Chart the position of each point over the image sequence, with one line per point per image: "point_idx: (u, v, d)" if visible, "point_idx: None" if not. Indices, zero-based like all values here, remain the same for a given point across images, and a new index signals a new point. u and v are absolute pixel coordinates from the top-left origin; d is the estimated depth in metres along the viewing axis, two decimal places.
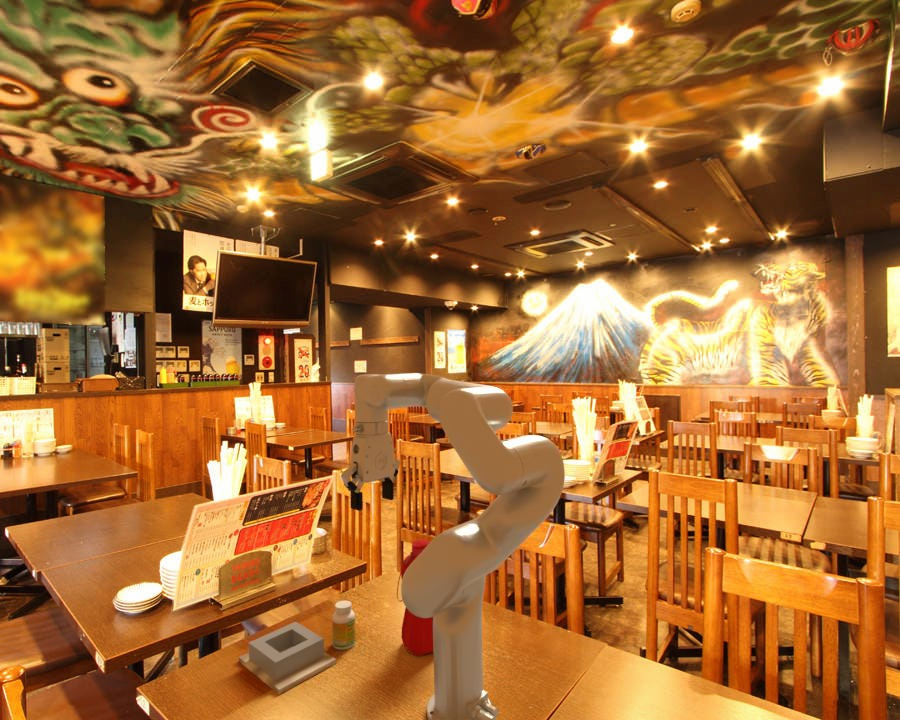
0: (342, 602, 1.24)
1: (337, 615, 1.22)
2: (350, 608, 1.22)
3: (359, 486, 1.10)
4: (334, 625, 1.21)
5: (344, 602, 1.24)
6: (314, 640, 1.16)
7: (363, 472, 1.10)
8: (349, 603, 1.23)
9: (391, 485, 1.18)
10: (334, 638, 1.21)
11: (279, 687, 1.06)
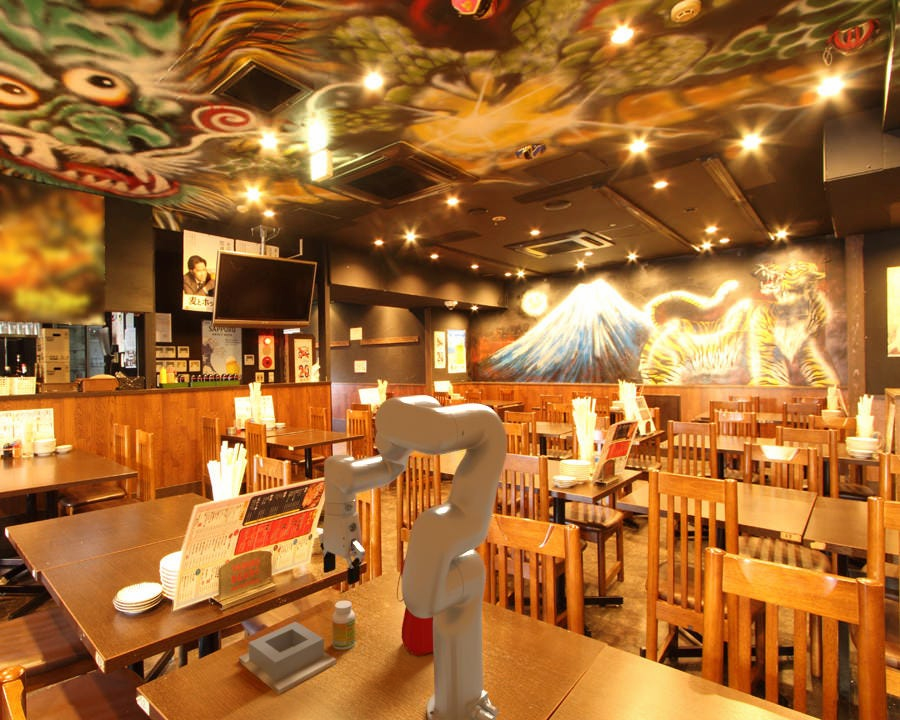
0: (342, 602, 1.24)
1: (337, 615, 1.22)
2: (350, 608, 1.22)
3: None
4: (334, 625, 1.21)
5: (344, 602, 1.24)
6: (314, 640, 1.16)
7: (361, 544, 1.22)
8: (349, 603, 1.23)
9: (335, 556, 1.27)
10: (334, 638, 1.21)
11: (279, 687, 1.06)
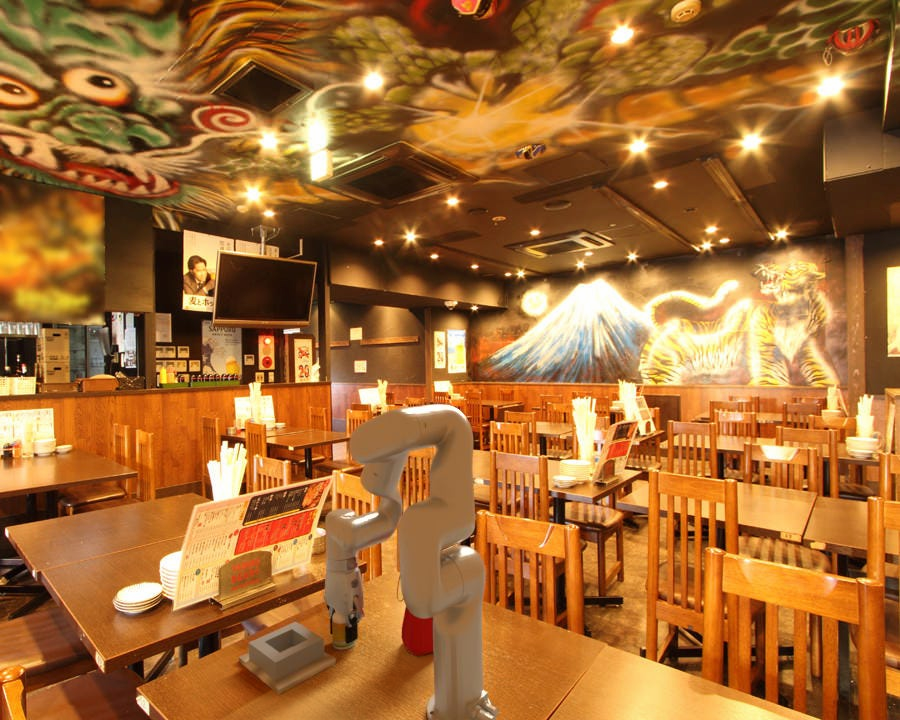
0: None
1: (337, 615, 1.22)
2: None
3: None
4: (334, 625, 1.21)
5: None
6: (314, 640, 1.16)
7: (363, 600, 1.22)
8: None
9: None
10: (334, 638, 1.21)
11: (279, 687, 1.06)
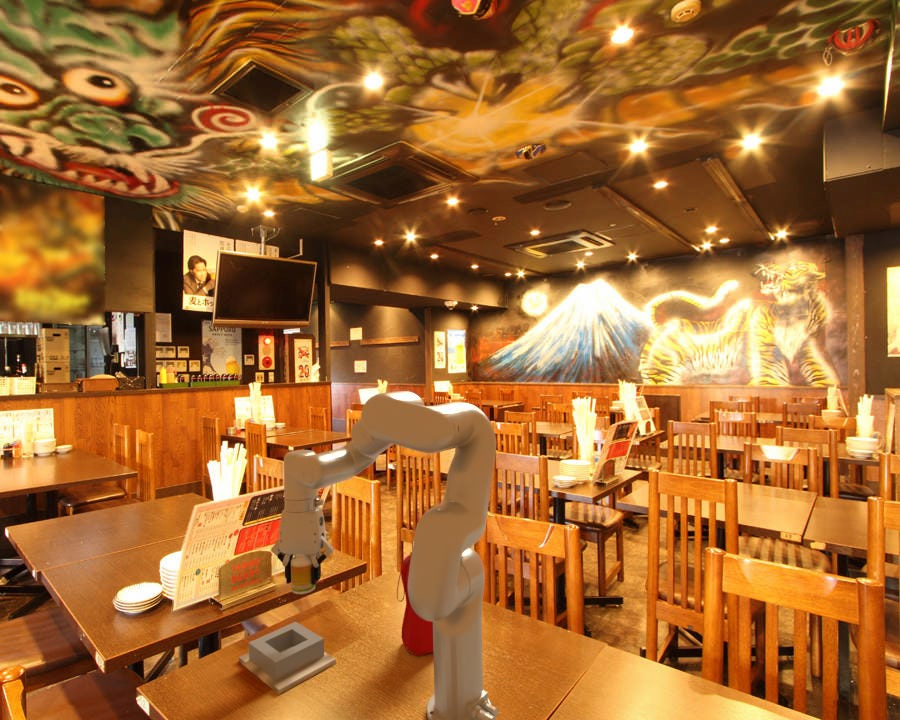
0: None
1: (299, 559, 1.16)
2: None
3: None
4: (298, 570, 1.16)
5: None
6: (314, 640, 1.16)
7: (325, 538, 1.20)
8: None
9: None
10: (297, 583, 1.16)
11: (279, 687, 1.06)
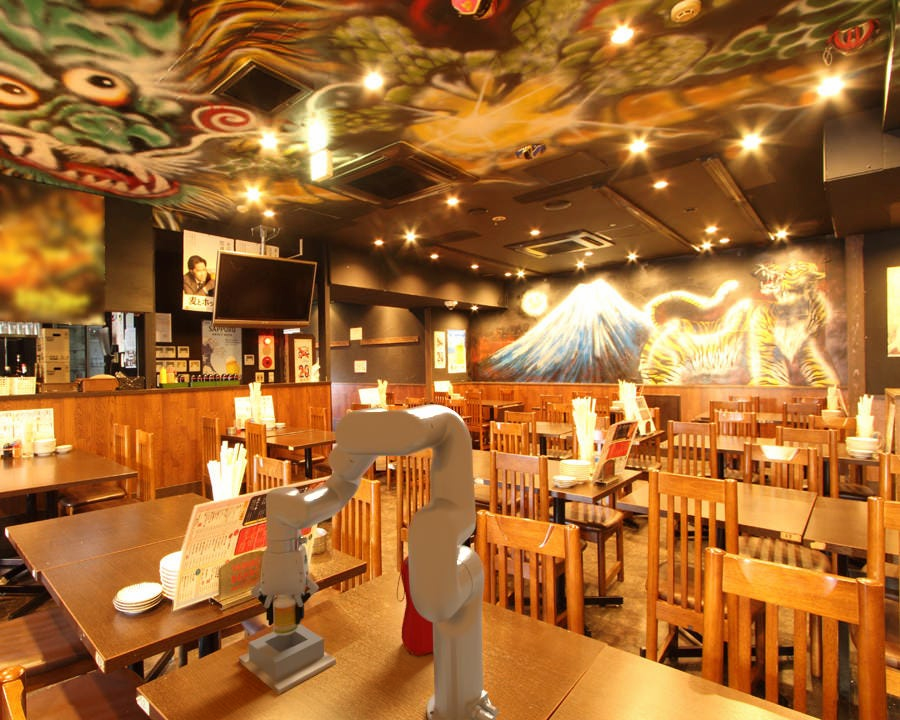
0: None
1: (283, 600, 1.14)
2: None
3: None
4: (282, 611, 1.13)
5: None
6: (314, 640, 1.16)
7: None
8: None
9: None
10: (281, 625, 1.13)
11: (279, 687, 1.06)
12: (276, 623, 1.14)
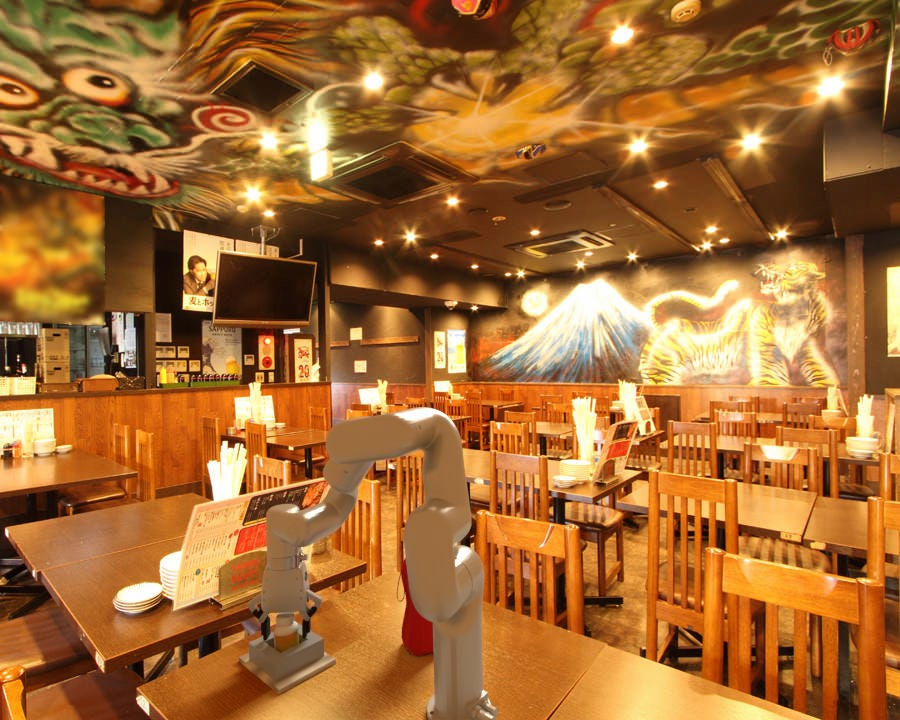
0: (281, 614, 1.16)
1: (284, 628, 1.14)
2: None
3: None
4: (282, 639, 1.13)
5: (282, 613, 1.17)
6: (314, 640, 1.16)
7: None
8: (290, 612, 1.17)
9: None
10: None
11: (279, 687, 1.06)
12: None
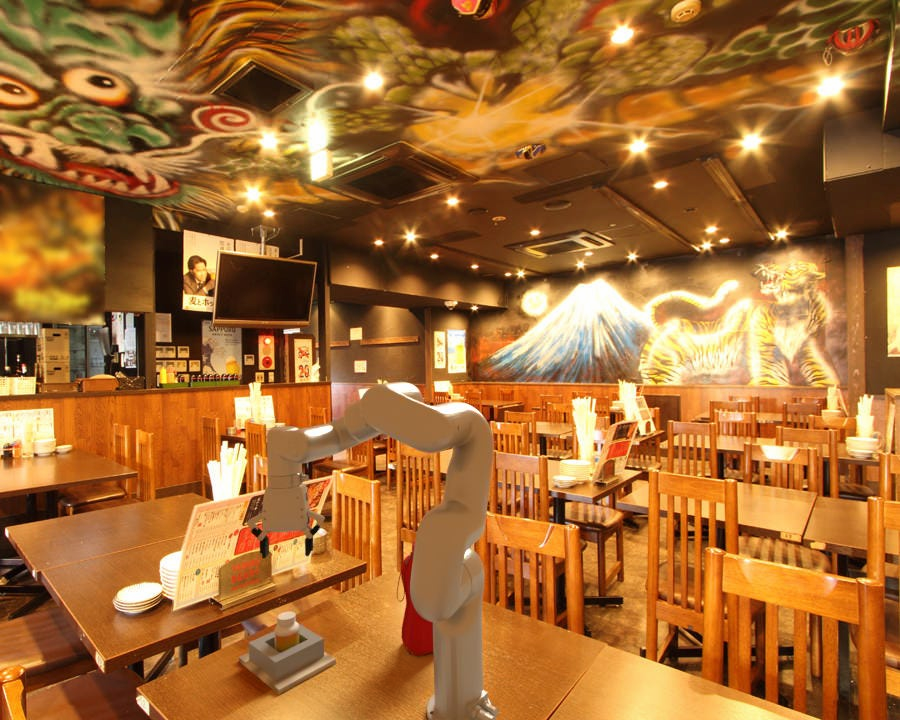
0: (282, 614, 1.16)
1: (285, 628, 1.14)
2: None
3: None
4: (283, 639, 1.13)
5: (284, 613, 1.17)
6: (314, 640, 1.16)
7: None
8: (291, 612, 1.17)
9: None
10: None
11: (279, 687, 1.06)
12: (278, 651, 1.14)
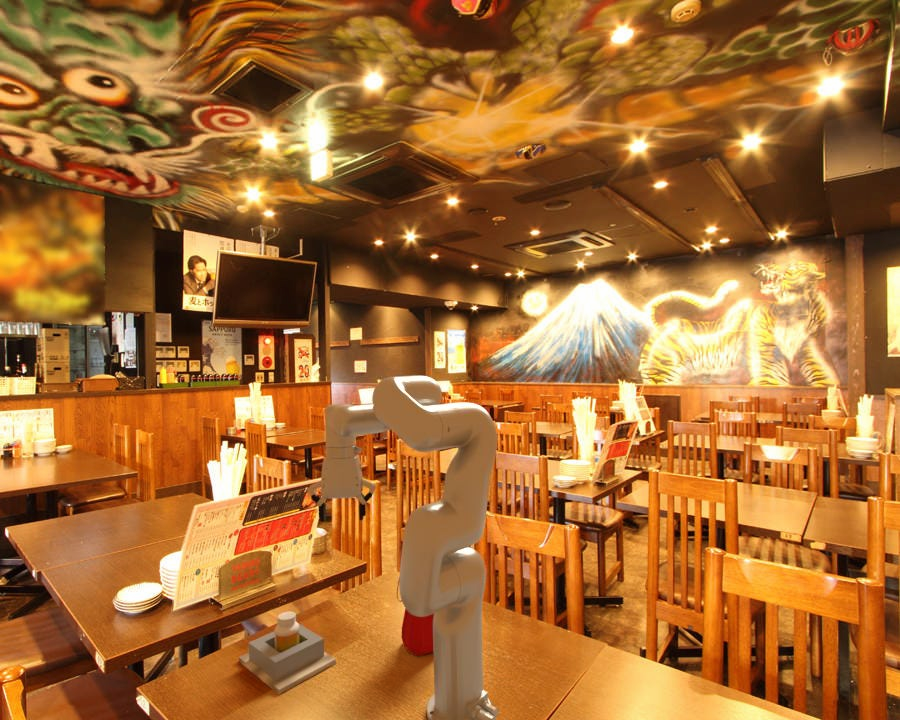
0: (283, 614, 1.16)
1: (285, 628, 1.14)
2: None
3: None
4: (284, 639, 1.13)
5: (284, 613, 1.17)
6: (314, 640, 1.16)
7: None
8: (291, 612, 1.17)
9: None
10: None
11: (279, 687, 1.06)
12: (278, 651, 1.14)
